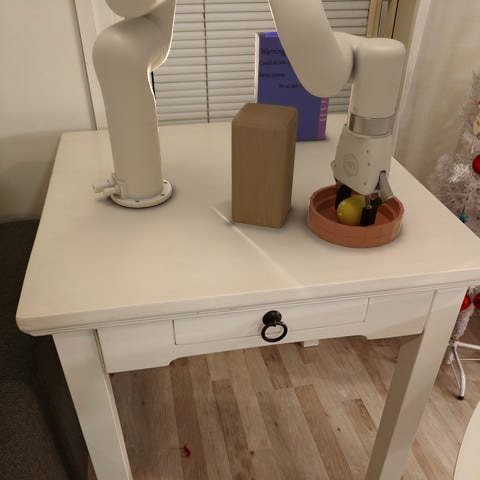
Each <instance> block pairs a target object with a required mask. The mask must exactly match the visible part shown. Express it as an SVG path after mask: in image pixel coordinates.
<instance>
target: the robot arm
mask: <svg viewBox="0 0 480 480" xmlns="http://www.w3.org/2000/svg"><path fill="white" fill-rule="evenodd" d="M104 1H105V3H106V5H107V7H108V8H109V9H110V10H111V12H113V13H114V14H115V15H116V16H119V17H121V18H124V19H122V20H119V21H117V22H115V23H114V24H111V25H109V26H108V27H106V28H104V29H103V30H102V31H101V32H100V33H99V34H98V35H97V37H96V38H95V40H94V42H93V46H92V52H91V59H92V65H93V69H94V72H95V75H96V79H97V81H98V84H99V88H100V92H101V95H102V100H103V107H104V110H105V111H104V112H105V117H106V123H107V130H108V137H109V143H110V150H111V155H112V162H113V163H112V164H113V168H114V172H111V173H110V178H107V180H106V181H100V182H96V183H95V182H94V183H93V184H92V189H93V192H94V193H95V194H100V193H103V195H104V196H105V197H107V196H110V198H111V200H112V201H113V202H114V203H115V204H118V205H120V206H123V207H127V208H148V207H153V206H157V205H159V204H162V203H164V202H165V201H167V200H168V199H169V198H171V196H172V193H173V189H172V185H171V183H170V182H169V181H167V180H166V179H165V178H164V171H163V162H162V151H161V150H162V149H161V142H160V141H161V140H160V128H159V127H160V126H159V117H158V108H157V101H156V97H155V93H154V90H153V88H152V85H151V81H150V74H151V73H152V72H154V71H155V70H156V69H158V68H160V66H161V65H163V64H164V63H165V61H166V60H167V59H168V56H169V54H170V51H171V46H172V39H173V31H174V24H175V17H176V9H177V1H178V0H104ZM267 3H268V6H269V10H270V12H271V16H272V19H273V22H274V26H275V31H276V32H277V33H278V36H279V39H280V41H281V44H282V46H283V48H284V51H285V53H286V55H287V57H288V59H289V61H290V63H291V65H292V67H293V69H294V71H295V73H296V75H297V77H298V79H299V81H300V82H301V84H302V85H303V87H304V88H305V89H306V90H307V91H308V92H309V93H311V94H312V95H314V96H317V97H324V98H325V97H329V98H330V97H332V96H333V97H334V96H335V95H337V94H338V93H339V92H340V91H342V90H343V89H344V87H345V86H346V84H347V82H349V83H351V89H350V97H349V103H348V107H347V109H346V111H347V112H346V113H347V119H346V122H345V123H344V124H343V126H342V129H341V131H340V134H339V137H338V142H337V145H336V149H335V155H334V159H333V160H332V161H330V167H331V170H332V176H333V179H334V181H335V188H336V190H338V191H337V195H336V202H335V210H337V208H338V206H339V204H340V203H341V202H342V201H343V200H345V199H347V198H351V193H352V189H353V190H355V191H356V192H358V193H360V194H362V195H364V198H365V205H366V207H363V209H362V214H361V220H360V227H367V226H370V225H373V224H374V223H375V220H376V214H377V209H378V206H381V205H382V204H384V203H385V202H386V201H388V200H390V199H391V198H393V195H394V192H393V189H392V187H391V185H390V182H389V178H390V171H391V164H392V157H393V156H392V155H393V134H392V129H393V124H394V119H395V114H396V108H397V103H398V98H399V94H400V93H399V92H400V87H401V82H402V77H403V72H404V66H405V62H406V55H407V50H406V46H405V44H404V43H403V42H402V41H400V40H397V39H393V38H389V37H371V38H370V37H363V36H359V35H355V34H351V33H348V32H342V31H334V30H333V29H332V27H331V24H330V21H329V19H328V17H327V14H326V11H325V8H324V4H323V1H322V0H267ZM380 190H381V193H380ZM373 193H374V200H372V199H371V194H373Z"/></svg>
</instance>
